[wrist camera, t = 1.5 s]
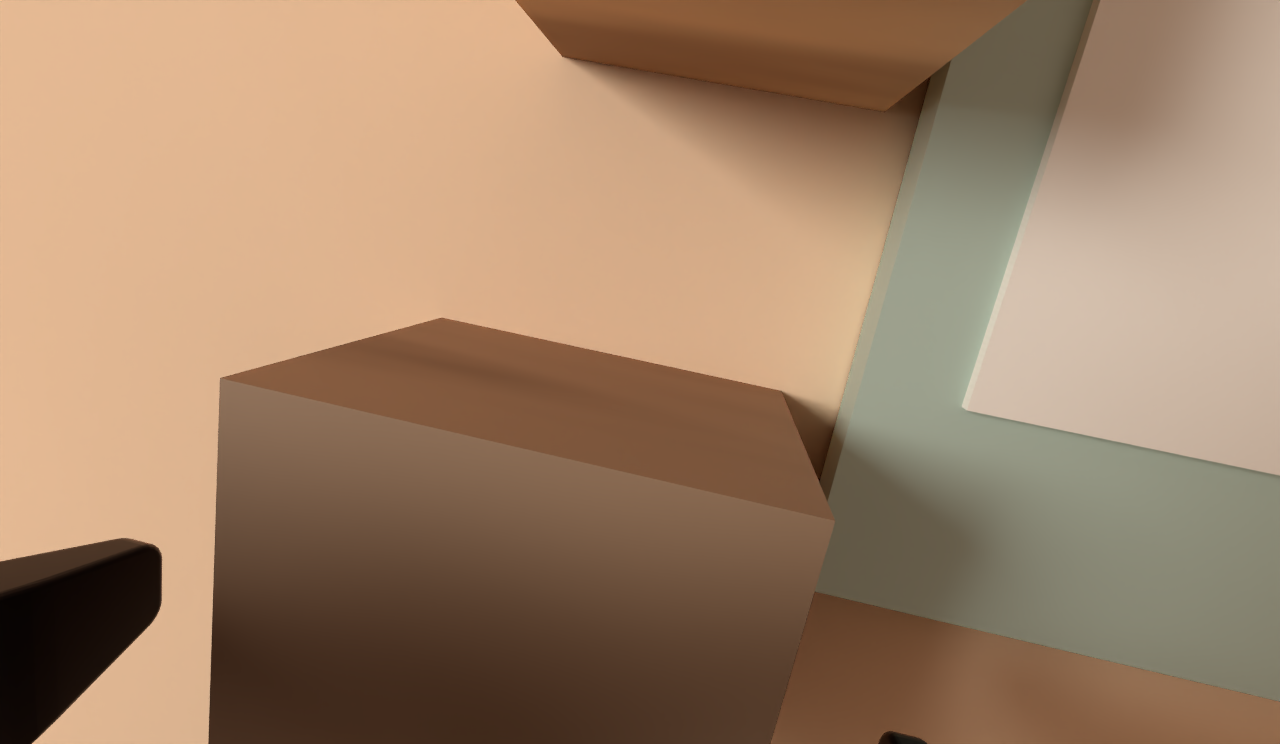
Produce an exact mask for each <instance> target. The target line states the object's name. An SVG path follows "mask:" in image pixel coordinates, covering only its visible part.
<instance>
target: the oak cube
mask: <svg viewBox="0 0 1280 744" xmlns="http://www.w3.org/2000/svg"><path fill="white" fill-rule="evenodd" d="M516 1H517V3H518V4H519V5H520V6H521V7H522V9H523V10H524V11H525V12H526V13H527V15H528V16H529V17H530V18H531V19H532V21H533V22H534V23H535V24H536V25H537V27H538V28H539V29H540V30H541V31H542V33H543V34H544V35H545V36H546V37H547V39H548V40H549V41H550V42H551V43H552V45H553V46H554V47H555V48H556V49H557V51H558V52H559V53H560V54H561V55H562V57H568V58H574V59H580V60H586V61H591V62H597V63H603V64H609V65H615V66H620V67H626V68H632V69H638V70H644V71H650V72H655V73H661V74H667V75H673V76H679V77H685V78H690V79H696V80H702V81H708V82H714V83H719V84H725V85H731V86H737V87H743V88H749V89H754V90H760V91H766V92H772V93H778V94H784V95H789V96H795V97H801V98H807V99H813V100H818V101H824V102H830V103H836V104H842V105H848V106H853V107H859V108H865V109H871V110H877V111H883V112H885V111H886V110H888V109H889V108H890V107H891V106H893V105H894V104H895V103H897V102H898V101H899V100H900V99H902V98H903V97H904V96H906V95H907V94H908V93H909V92H911V91H912V90H913V89H914V88H916V87H917V86H918V85H920V84H921V83H922V82H923V81H925V80H926V79H927V78H929V77H930V76H931V75H932V74H934V73H935V72H936V71H937V70H939V69H940V68H941V67H943V66H944V65H945V64H946V63H948V62H949V61H950V60H952V59H953V58H954V57H955V56H957V55H958V54H959V53H960V52H962V51H963V50H964V49H966V48H967V47H968V46H969V45H971V44H972V43H973V42H975V41H976V40H977V39H978V38H980V37H981V36H982V35H983V34H985V33H986V32H987V31H989V30H990V29H991V28H992V27H994V26H995V25H996V24H998V23H999V22H1000V21H1001V20H1003V19H1004V18H1005V17H1007V16H1008V15H1009V14H1010V13H1012V12H1013V11H1014V10H1015V9H1017V8H1018V7H1019V6H1021V5H1022V4H1023V3H1024V2H1026V1H1027V0H516Z"/></svg>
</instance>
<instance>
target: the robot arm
mask: <svg viewBox="0 0 1280 744" xmlns="http://www.w3.org/2000/svg"><path fill="white" fill-rule="evenodd" d="M161 601H162V555H161V552H160V550H159V548H158V547H156V546H155V545H153V544H149V543H145V542H141V541H137V540H133V539H128V538H120V539H114V540H109V541H104V542H99V543H93V544H88V545H83V546H78V547H73V548H68V549H63V550H57V551H52V552H47V553H42V554H37V555H32V556H26V557H21V558H16V559H11V560H6V561H1V562H0V744H32V743H33V742H34V741H35V740H36V739H37V738H38V737H39V736H40V735H41V734H43V733H44V732H45V731H46V730H47V729H48V728H49V727H50V726H51V725H52V724H53V723H54V722H55V721H56V720H57V719H58V718H59V717H60V716H61V715H62V714H63V713H64V712H65V711H66V710H67V709H68V708H69V707H70V706H71V705H72V704H73V703H74V702H75V701H76V700H77V699H78V698H79V697H80V696H81V694H82V693H83V692H84V691H85V690H86V689H87V688H88V687H89V686H90V685H91V684H92V683H93V682H94V681H95V680H96V679H97V678H98V677H99V676H100V675H101V674H102V673H103V672H104V671H105V670H106V669H107V668H108V667H109V666H110V665H111V664H112V663H113V662H114V661H115V660H116V659H117V658H118V657H119V656H120V655H121V654H122V653H123V652H124V651H125V650H126V649H127V648H128V647H129V646H130V645H131V644H132V643H133V642H134V641H135V640H136V639H137V638H138V637H139V636H140V635H141V634H142V633H143V632H144V631H145V629H146V628H147V627H148V626H149V625H150V624H151V623H152V622H153V620H154V619H155V617H156V616H157V614H158V612H159V610H160V606H161ZM879 744H927V743H926V742H925V741H923V740H922V739H920V738H917V737H913V736H909V735H905V734H901V733H897V732H893V731H889V732H886V733H884V734H883V736H882V737H881V739H880V741H879Z"/></svg>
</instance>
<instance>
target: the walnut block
mask: <svg viewBox="0 0 1280 744" xmlns="http://www.w3.org/2000/svg"><path fill="white" fill-rule="evenodd" d="M834 524H835V519H834V517H833V514H832V512H831V509H830V507H829V505H828V502H827V500H826V497H825V495H824V493H823V490H822V488H821V485H820V483H819V481H818V478H817V476H816V473H815V471H814V469H813V466H812V464H811V461H810V459H809V456H808V454H807V452H806V449H805V447H804V444H803V442H802V440H801V437H800V435H799V432H798V430H797V428H796V425H795V423H794V420H793V418H792V416H791V413H790V411H789V408H788V406H787V404H786V401H785V399H784V396H783V394H782V392H781V391H779V390H774V389H769V388H765V387H760V386H756V385H751V384H746V383H742V382H737V381H732V380H728V379H723V378H718V377H714V376H709V375H705V374H700V373H695V372H691V371H686V370H681V369H677V368H672V367H667V366H663V365H658V364H654V363H649V362H644V361H640V360H635V359H630V358H626V357H621V356H617V355H612V354H607V353H603V352H598V351H593V350H589V349H584V348H579V347H575V346H570V345H566V344H561V343H556V342H552V341H547V340H542V339H538V338H533V337H529V336H524V335H519V334H515V333H510V332H505V331H501V330H496V329H491V328H487V327H482V326H478V325H473V324H468V323H464V322H459V321H454V320H450V319H445V318H439V319H435V320H432V321H428V322H424V323H421V324H417V325H413V326H410V327H406V328H402V329H399V330H395V331H391V332H388V333H384V334H380V335H377V336H373V337H369V338H366V339H362V340H358V341H355V342H351V343H347V344H344V345H340V346H336V347H333V348H329V349H325V350H322V351H318V352H314V353H311V354H307V355H303V356H300V357H296V358H292V359H289V360H285V361H281V362H278V363H274V364H270V365H267V366H263V367H259V368H256V369H252V370H248V371H245V372H241V373H237V374H234V375H230V376H226V377H223V378H220V398H219V429H218V461H217V492H216V524H215V555H214V587H213V618H212V650H211V681H210V713H209V744H770V743H771V740H772V736H773V733H774V729H775V726H776V722H777V719H778V716H779V712H780V709H781V705H782V702H783V698H784V695H785V692H786V688H787V685H788V681H789V678H790V674H791V671H792V668H793V664H794V661H795V657H796V654H797V650H798V647H799V644H800V640H801V637H802V633H803V630H804V627H805V623H806V620H807V616H808V613H809V609H810V606H811V603H812V599H813V596H814V592H815V589H816V585H817V582H818V579H819V575H820V572H821V568H822V565H823V561H824V558H825V555H826V551H827V548H828V544H829V541H830V537H831V534H832V531H833V527H834Z"/></svg>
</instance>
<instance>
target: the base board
mask: <svg viewBox="0 0 1280 744" xmlns="http://www.w3.org/2000/svg"><path fill="white" fill-rule="evenodd" d="M819 483H820V485H821V488H822V490H823V493H824V495H825V497H826V500H827V502H828V505H829V507H830V509H831V512H832V514H833V517H834V519H835V524H834V527H833V531H832V534H831V537H830V541H829V544H828V548H827V551H826V555H825V558H824V561H823V565H822V568H821V572H820V575H819V579H818V582H817V585H816V589H815V592H818V593H823V594H827V595H831V596H835V597H839V598H844V599H848V600H852V601H856V602H861V603H865V604H869V605H873V606H878V607H882V608H886V609H890V610H894V611H899V612H903V613H907V614H911V615H916V616H920V617H924V618H928V619H932V620H937V621H941V622H945V623H949V624H954V625H958V626H962V627H966V628H971V629H975V630H979V631H983V632H987V633H992V634H996V635H1000V636H1004V637H1009V638H1013V639H1017V640H1021V641H1025V642H1030V643H1034V644H1038V645H1042V646H1047V647H1051V648H1055V649H1059V650H1064V651H1068V652H1072V653H1076V654H1080V655H1085V656H1089V657H1093V658H1097V659H1102V660H1106V661H1110V662H1114V663H1119V664H1123V665H1127V666H1131V667H1135V668H1140V669H1144V670H1148V671H1152V672H1157V673H1161V674H1165V675H1169V676H1173V677H1178V678H1182V679H1186V680H1190V681H1195V682H1199V683H1203V684H1207V685H1212V686H1216V687H1220V688H1224V689H1228V690H1233V691H1237V692H1241V693H1245V694H1250V695H1254V696H1258V697H1262V698H1266V699H1271V700H1275V701H1279V702H1280V0H1027V1H1026V2H1024V3H1023V4H1022V5H1021V6H1019V7H1018V8H1017V9H1015V10H1014V11H1013V12H1012V13H1010V14H1009V15H1008V16H1007V17H1005V18H1004V19H1003V20H1001V21H1000V22H999V23H998V24H996V25H995V26H994V27H992V28H991V29H990V30H989V31H987V32H986V33H985V34H983V35H982V36H981V37H980V38H978V39H977V40H976V41H975V42H973V43H972V44H971V45H969V46H968V47H967V48H966V49H964V50H963V51H962V52H960V53H959V54H958V55H957V56H955V57H954V58H953V59H952V60H950V61H949V62H948V63H946V64H945V65H944V66H943V67H941V68H940V69H939V70H937V71H936V72H935V73H934V74H932V75H931V78H930V81H929V85H928V89H927V92H926V96H925V100H924V103H923V107H922V110H921V114H920V118H919V121H918V125H917V129H916V132H915V136H914V140H913V143H912V147H911V150H910V154H909V158H908V161H907V165H906V169H905V172H904V176H903V180H902V183H901V187H900V191H899V194H898V198H897V201H896V205H895V209H894V212H893V216H892V220H891V223H890V227H889V231H888V234H887V238H886V241H885V245H884V249H883V252H882V256H881V260H880V263H879V267H878V271H877V274H876V278H875V281H874V285H873V289H872V292H871V296H870V300H869V303H868V307H867V311H866V314H865V318H864V322H863V325H862V329H861V332H860V336H859V340H858V343H857V347H856V351H855V354H854V358H853V362H852V365H851V369H850V372H849V376H848V380H847V383H846V387H845V391H844V394H843V398H842V402H841V405H840V409H839V413H838V416H837V420H836V423H835V427H834V431H833V434H832V438H831V442H830V445H829V449H828V453H827V456H826V460H825V463H824V467H823V471H822V474H821V478H820V482H819Z"/></svg>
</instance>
